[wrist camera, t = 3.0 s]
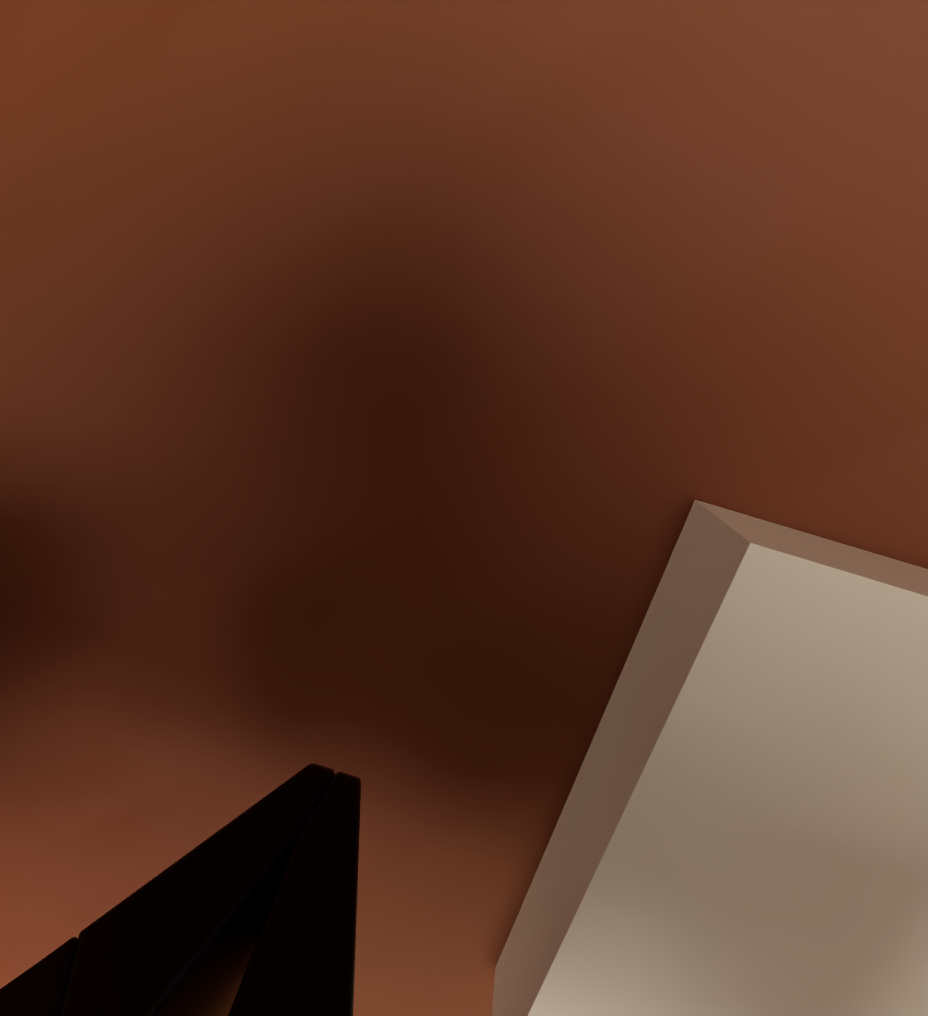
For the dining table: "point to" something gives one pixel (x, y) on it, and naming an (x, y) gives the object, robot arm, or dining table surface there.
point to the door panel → (746, 797)
